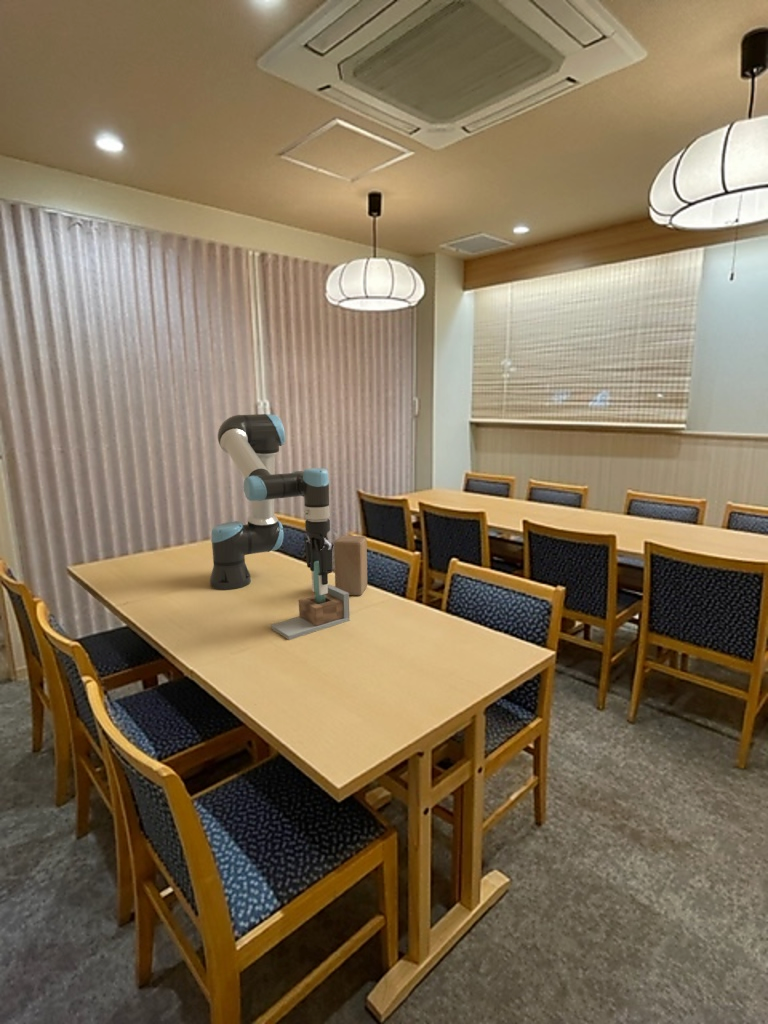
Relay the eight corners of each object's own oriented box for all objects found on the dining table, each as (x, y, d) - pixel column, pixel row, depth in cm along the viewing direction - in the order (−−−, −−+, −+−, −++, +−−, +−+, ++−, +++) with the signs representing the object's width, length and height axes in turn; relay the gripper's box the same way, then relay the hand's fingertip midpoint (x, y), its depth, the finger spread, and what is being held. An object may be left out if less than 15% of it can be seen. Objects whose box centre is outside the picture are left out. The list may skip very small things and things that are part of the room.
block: (361, 596, 196) (360, 542, 192) (334, 594, 198) (333, 541, 194) (368, 587, 205) (367, 535, 201) (342, 585, 207) (340, 534, 203)
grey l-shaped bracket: (270, 628, 169) (269, 600, 167) (330, 610, 183) (329, 584, 181) (288, 639, 161) (287, 610, 159) (349, 620, 174) (348, 593, 173)
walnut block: (299, 616, 174) (298, 599, 173) (325, 608, 181) (325, 592, 180) (316, 625, 167) (315, 608, 166) (343, 617, 173) (342, 600, 172)
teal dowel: (321, 602, 175) (320, 560, 172) (327, 605, 173) (326, 562, 170) (313, 604, 173) (311, 562, 170) (319, 607, 171) (317, 564, 168)
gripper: (293, 516, 171) (296, 588, 176) (321, 525, 159) (324, 601, 164) (313, 513, 176) (316, 583, 181) (342, 521, 164) (344, 596, 168)
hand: (320, 592), depth 172 cm, fingers closed on teal dowel, 3 cm apart
